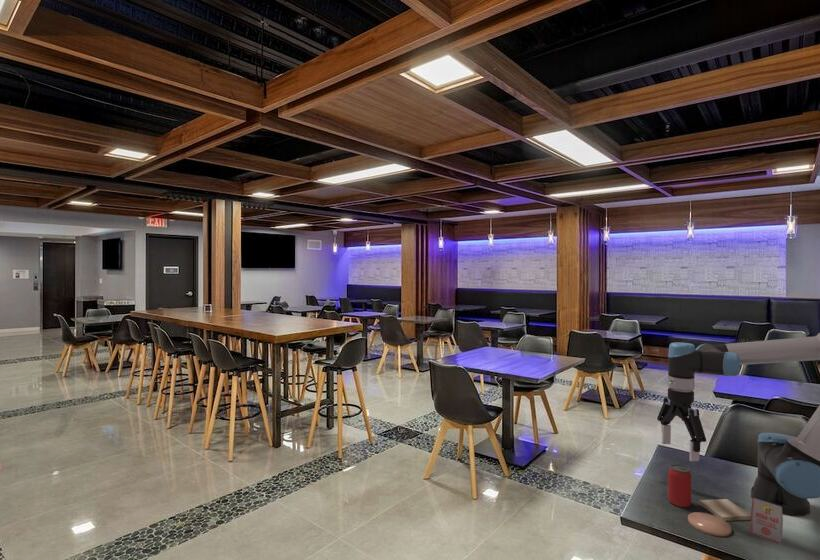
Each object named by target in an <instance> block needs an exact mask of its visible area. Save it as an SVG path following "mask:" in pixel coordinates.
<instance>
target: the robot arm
mask: <svg viewBox="0 0 820 560" xmlns="http://www.w3.org/2000/svg"><path fill="white" fill-rule="evenodd" d="M667 359H668V360H667V363H668V365H667V368H668V369H667V372H668V373H667V375H668V376H667V379H668V380H667V386H668V388H667V397H664V398H663V402H662V405H661V408H660V411H658V412H659V413H658V415H657V418H656V419H657V421H658V422H660V424H661V445H672V443H671V442H672V441H671V440H672V438H671V437H672V436H671V435H672V434H671V433H672V425H671V422H672V421H673V420H674V419H675V418H676V417H677V418H680V419H681V421H682V422H684V425H685V427H686V430H687V431H688V435H689V436H690V438H691V439H690V440H689V461H690V462H700V452H701V443H706V442H707V438H706V434H705V431H704V428H703V425H702V421H701V418H700V410H699V409H698V408H692V404H693V403H694V402H695V392H694V390H695V374H705V375H714V376H715V375H716V376H722V377H723V376H724V377H737V376H738V375H739V374H740V372H741V367H742V366H746V365H747V366H748V365H760V364H763V365H764V364H777V363H778V364H779V363H792V362H808V361H820V332H818V333H817V335H814V336H805V337H804V336H803V337H793V338H782V339H781V338H779V339H769V340H768V339H767V340H755V341H745V342H734V343H733V342H732V343H723V344H722V343H721V344H710V343H702V344H700V345H698V346H697V347H696V346H695V344H693V343H689V342H679V341H678V342H677V341H675V342H671V343H670V344H669V346H668V354H667ZM803 427H804V428H803V429H802V430H801V431H800V433H799V434H798V436H797V437H796V436H792V435H789V434H788V435H787V434H782V433H775V432H761V433H760V434H758V437H757V438H758V439H757V476H756V478H755V481H754V484H753V486H751V489H750V498H751V499H752V498H756V499H759V500H762V501H765V502H768V503H771V504H775V505H778V506H781V507H782V514H783V515H788V516H793V517H795V516H798V517H799V516H800V517H801V516H807V515H810V513H811V503H810V501H809V500H810V499H813V500H814V499H819V498H820V404H819V405H818V407H817V408H816V410H815V411H814V412H813V414H812V416H811V417H810V419H809V420H808V421H807V422H806V424H805V425H804V426H803ZM808 499H809V500H808Z"/></svg>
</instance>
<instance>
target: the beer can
mask: <svg viewBox="0 0 820 560" xmlns="http://www.w3.org/2000/svg"><path fill="white" fill-rule="evenodd" d="M667 475H668V477H667V479H668V480H667V481H668V483H667V489H668V490H667V492H668V493H667V499H668V502H669V503H670V504H672V505H673V506H676V507H679V508H689V507H691V505H692V474H691V470H690V468H689V467H688V466H685V465H682V464H679V463H677V464H675V463H673V464H670V466H669V469H668V473H667Z"/></svg>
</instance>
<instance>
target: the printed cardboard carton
mask: <svg viewBox="0 0 820 560" xmlns="http://www.w3.org/2000/svg"><path fill="white" fill-rule="evenodd" d="M751 499H752V500H751V509H750V510H751V511H750V514H751V520H750V534H753V535H755V536H757V537H761V538H762V539H763V538H764V539H766V540H769V541H771V542H774V543H777V544H779V543H780V544H781V543H782V541H783V533H784V530H783V529H784V528H783V527H784V524H783V523H784V517H783V516H784V514H783V513H782V507H781V506H778V505H775V504H771V503H768V502H765V501H762V500H759V499H756V498H751Z"/></svg>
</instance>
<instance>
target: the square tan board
mask: <svg viewBox="0 0 820 560" xmlns="http://www.w3.org/2000/svg"><path fill="white" fill-rule="evenodd" d="M698 504H699V505H700V506H701V507H703V508H704V509H705V510H707V512H709V513H711V515H714V516H717V517H719V518H721V519H723V520H725V521H726V522H727V521H728V522H730V521H749V520H750V521H751V513H749V512H748V511H746V510H744V508H742V507H740V506H738V505H737V504H735V503H734V502H732V501H731V500H729V499H728V498H719V499H699V500H698Z"/></svg>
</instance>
